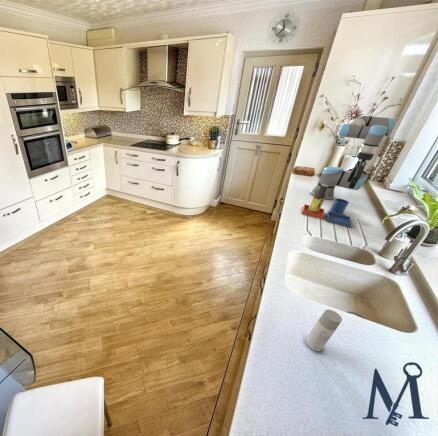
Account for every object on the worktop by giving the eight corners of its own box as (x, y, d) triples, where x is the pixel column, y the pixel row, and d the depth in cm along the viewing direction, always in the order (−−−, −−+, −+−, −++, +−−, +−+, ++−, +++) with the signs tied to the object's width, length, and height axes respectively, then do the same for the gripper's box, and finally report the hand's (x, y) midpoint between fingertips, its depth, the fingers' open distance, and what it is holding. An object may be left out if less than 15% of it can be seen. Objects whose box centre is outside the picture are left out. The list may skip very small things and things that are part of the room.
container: (304, 336, 80) (322, 307, 73) (319, 341, 79) (340, 312, 71) (306, 348, 77) (326, 319, 69) (322, 354, 75) (344, 324, 68)
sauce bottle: (316, 215, 157) (328, 188, 147) (306, 211, 161) (317, 185, 151) (319, 212, 161) (331, 185, 151) (309, 209, 165) (320, 182, 155)
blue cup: (329, 208, 168) (335, 197, 163) (342, 211, 164) (348, 200, 160) (329, 212, 162) (335, 201, 158) (343, 216, 159) (349, 204, 154)
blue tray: (326, 214, 160) (328, 211, 159) (348, 219, 155) (350, 216, 153) (326, 221, 151) (328, 218, 150) (349, 227, 146) (351, 224, 144)
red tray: (302, 207, 168) (304, 204, 167) (322, 212, 163) (324, 209, 161) (301, 213, 160) (303, 210, 158) (322, 219, 154) (324, 216, 153)
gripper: (357, 147, 153) (342, 178, 164) (361, 155, 135) (344, 189, 145) (371, 149, 149) (355, 181, 160) (377, 157, 131) (359, 192, 142)
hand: (349, 184), depth 153 cm, fingers open, 13 cm apart
